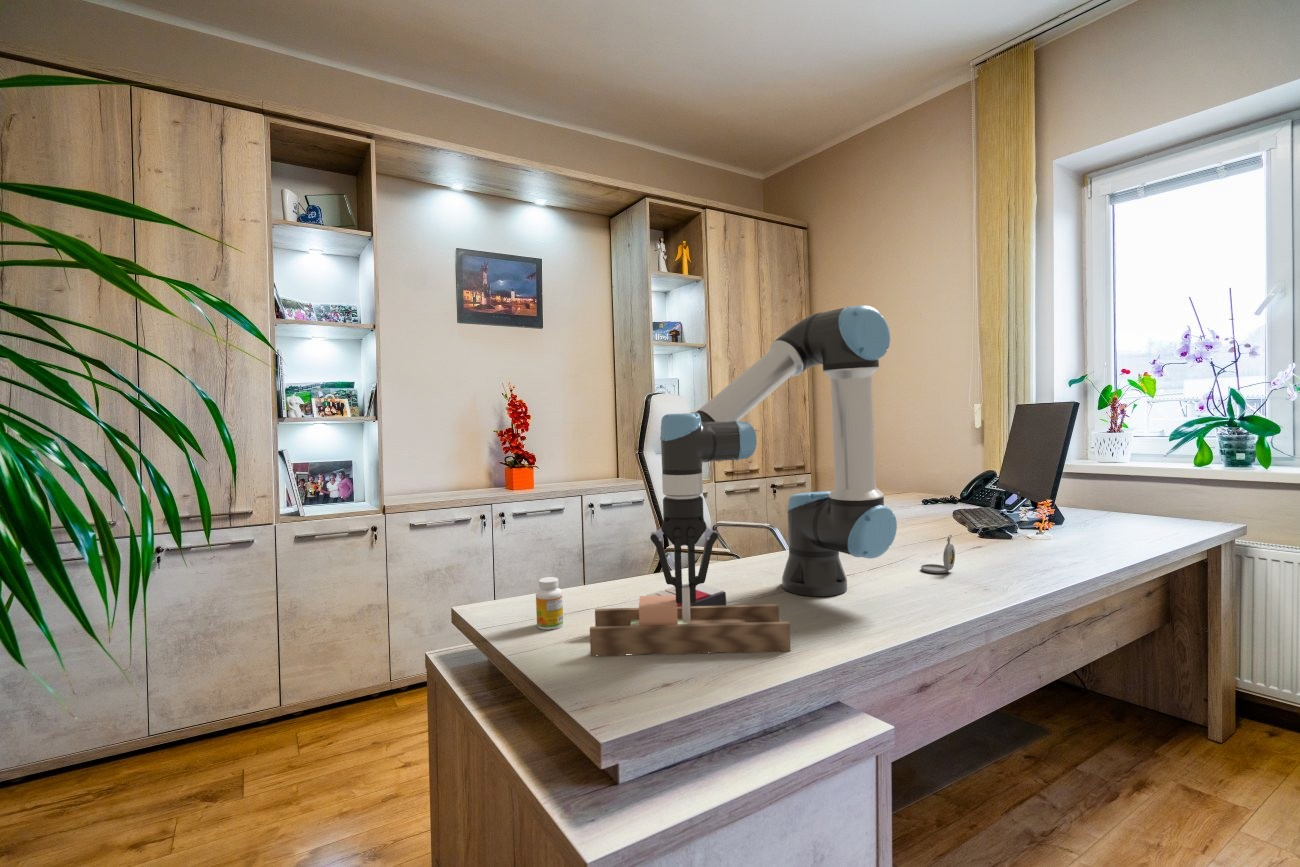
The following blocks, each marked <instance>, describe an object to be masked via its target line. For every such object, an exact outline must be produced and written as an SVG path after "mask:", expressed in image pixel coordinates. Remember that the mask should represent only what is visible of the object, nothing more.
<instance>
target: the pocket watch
mask: <svg viewBox="0 0 1300 867" xmlns="http://www.w3.org/2000/svg"><path fill="white" fill-rule="evenodd" d="M951 539H952V534H949V535H948V536H947V539H946V541H947V543H946V545H945V547H944V550H943V556H942V557H943V565H942V564H935V563H928V564H921V565H920V569H921V570H922V571H923V572H926V573H933V574H944V573H945V574H947V573H948V572H949V571H950V570H953V567H954V565H955V561H956V551H955V550H956V549H955V546H954V544H952V543H951Z"/></svg>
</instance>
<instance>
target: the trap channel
mask: <svg viewBox="0 0 1300 867" xmlns="http://www.w3.org/2000/svg"><path fill="white" fill-rule="evenodd" d="M677 619H678V624H672V625H639V607H621V608H620V607H619V608H618V607H617V608H616V607H614V608H613V607H612V608H595V609H594V625H595V626H590V627H589V645H590V646H589V647H590V657H602V656H601V655H620V656H627V655H626V654H658V655H687V654H686V653H697V654H709V653H708V652H735V653H766V652H767V653H768V652H769V653H771V652H791V623H790V622H789V621H787V620H786V621H780V607H779V604H778V603H768V604H765V603H763V604H759V603H758V604H731V605H730V604H729V605H727V604H726V605H721V606H690V619H691V622H688V623H683V619H682V607H677ZM680 653H682V654H680ZM596 655H598V656H596Z"/></svg>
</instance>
